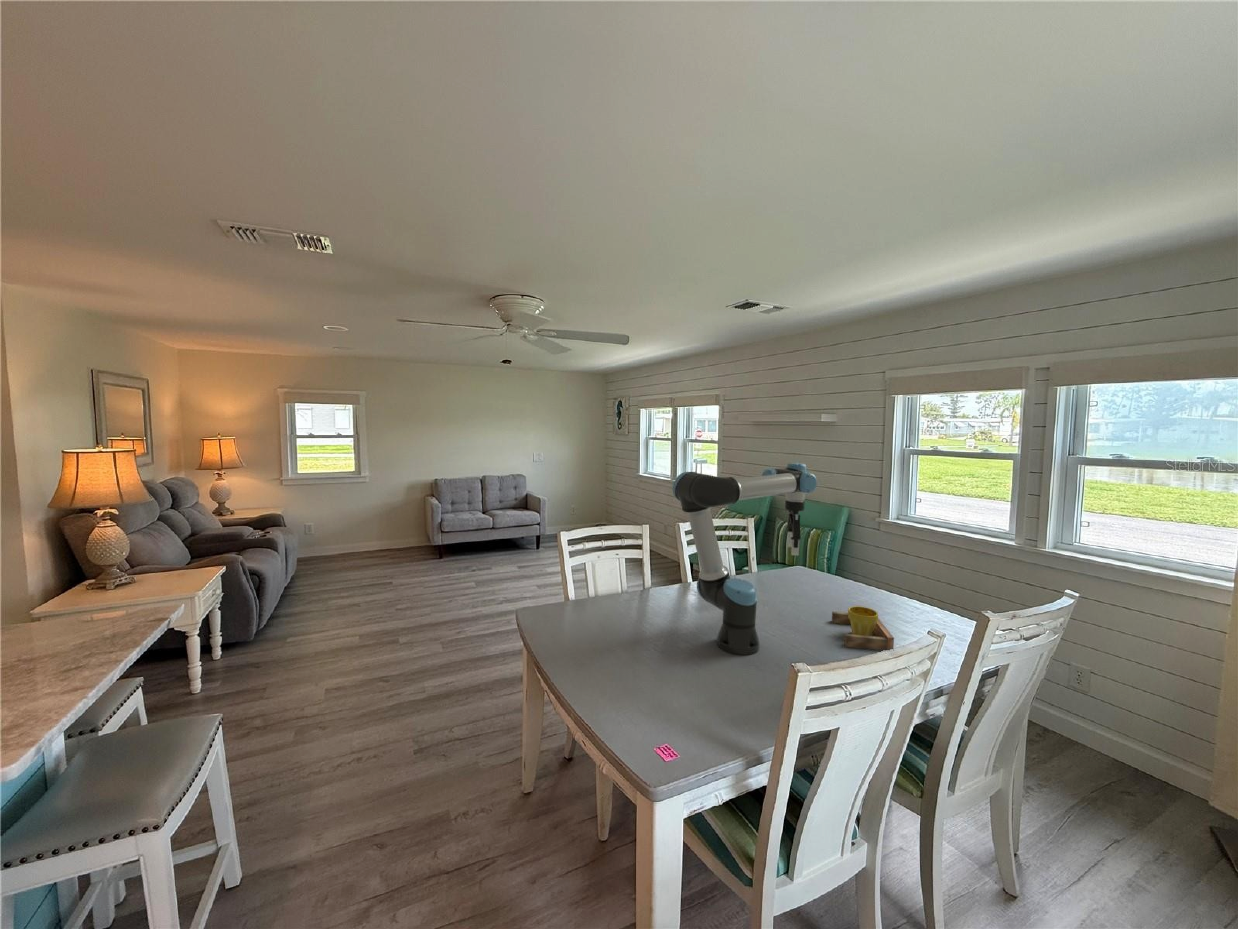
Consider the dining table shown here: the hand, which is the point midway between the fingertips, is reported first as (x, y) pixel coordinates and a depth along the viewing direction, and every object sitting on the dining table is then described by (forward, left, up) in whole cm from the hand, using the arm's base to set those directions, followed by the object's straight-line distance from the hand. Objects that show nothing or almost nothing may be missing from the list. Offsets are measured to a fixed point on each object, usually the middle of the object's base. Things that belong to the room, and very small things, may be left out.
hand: (792, 551), depth 205 cm
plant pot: (+25, -11, -29) cm, 40 cm away
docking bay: (+24, -11, -29) cm, 39 cm away
